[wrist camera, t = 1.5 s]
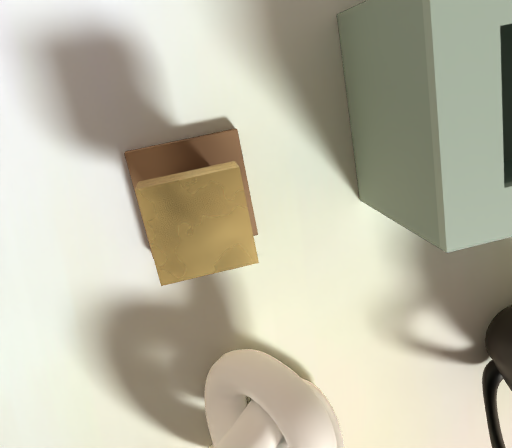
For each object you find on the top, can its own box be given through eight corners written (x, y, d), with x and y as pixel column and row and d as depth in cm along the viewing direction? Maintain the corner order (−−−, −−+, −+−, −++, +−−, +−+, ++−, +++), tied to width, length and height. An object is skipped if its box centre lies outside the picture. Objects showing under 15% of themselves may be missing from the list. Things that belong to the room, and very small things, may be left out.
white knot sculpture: (170, 331, 33) (167, 416, 24) (334, 318, 35) (385, 392, 26) (177, 463, 36) (177, 579, 27) (327, 445, 38) (371, 548, 29)
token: (162, 271, 25) (161, 286, 23) (138, 181, 24) (135, 189, 22) (252, 249, 26) (258, 262, 24) (234, 160, 24) (239, 167, 22)
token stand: (153, 255, 31) (148, 292, 25) (125, 151, 29) (113, 166, 23) (256, 231, 32) (273, 262, 26) (235, 128, 30) (249, 137, 24)
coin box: (359, 200, 32) (446, 252, 22) (336, 14, 29) (428, -29, 18) (543, 157, 34) (707, 188, 23) (543, -25, 30) (737, -85, 20)
